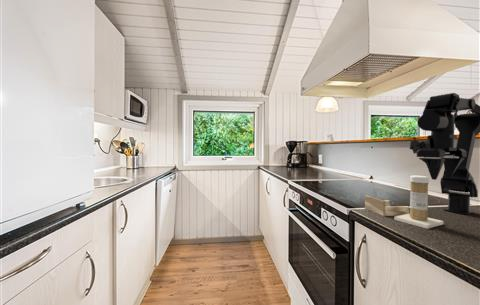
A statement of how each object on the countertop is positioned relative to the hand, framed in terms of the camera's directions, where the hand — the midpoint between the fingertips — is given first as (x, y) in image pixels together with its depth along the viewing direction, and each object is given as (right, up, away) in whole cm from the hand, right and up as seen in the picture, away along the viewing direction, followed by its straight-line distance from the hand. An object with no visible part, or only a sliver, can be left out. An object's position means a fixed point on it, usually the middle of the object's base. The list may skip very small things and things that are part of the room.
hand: (441, 178), depth 75 cm
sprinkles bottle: (-11, -12, -5) cm, 17 cm away
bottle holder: (-14, -13, +7) cm, 20 cm away
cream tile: (-12, -13, -5) cm, 18 cm away
